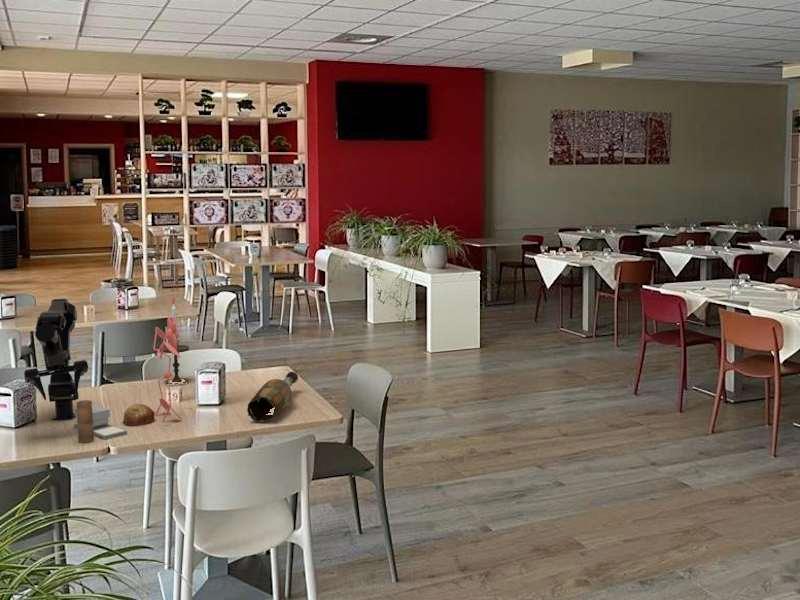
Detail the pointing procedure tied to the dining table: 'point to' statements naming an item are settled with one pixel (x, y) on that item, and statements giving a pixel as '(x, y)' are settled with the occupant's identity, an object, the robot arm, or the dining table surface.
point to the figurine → (172, 346)
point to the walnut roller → (85, 421)
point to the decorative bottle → (271, 398)
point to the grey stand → (102, 423)
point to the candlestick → (179, 349)
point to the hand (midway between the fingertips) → (61, 397)
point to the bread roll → (138, 415)
